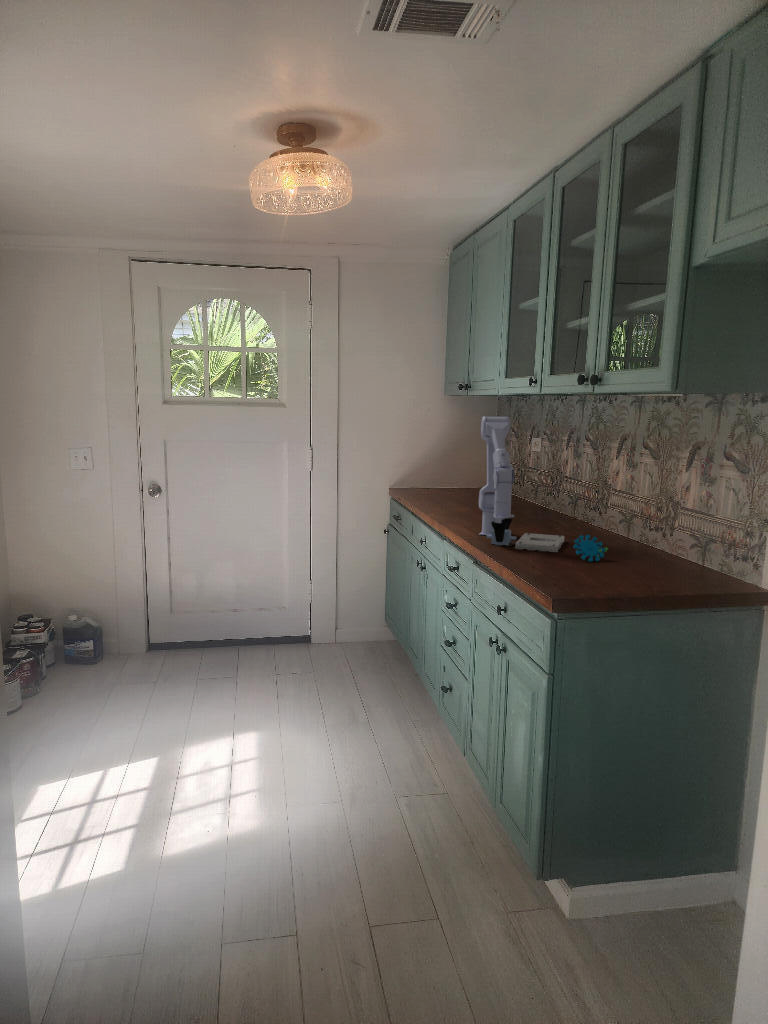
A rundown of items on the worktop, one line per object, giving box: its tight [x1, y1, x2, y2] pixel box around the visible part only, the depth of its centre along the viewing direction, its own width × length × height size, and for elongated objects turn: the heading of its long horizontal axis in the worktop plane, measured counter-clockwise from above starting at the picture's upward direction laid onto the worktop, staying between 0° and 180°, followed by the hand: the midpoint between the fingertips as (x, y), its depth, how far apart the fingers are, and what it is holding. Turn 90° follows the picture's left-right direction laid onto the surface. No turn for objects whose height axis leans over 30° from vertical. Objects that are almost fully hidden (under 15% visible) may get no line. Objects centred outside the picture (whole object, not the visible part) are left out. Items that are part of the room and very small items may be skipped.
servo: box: [486, 529, 517, 547], centre depth 238 cm, size 4×10×5 cm, turn 69°
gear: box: [573, 534, 609, 563], centre depth 217 cm, size 11×6×10 cm
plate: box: [514, 532, 565, 553], centre depth 238 cm, size 20×14×2 cm
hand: (501, 540), depth 239 cm, fingers open, 6 cm apart
